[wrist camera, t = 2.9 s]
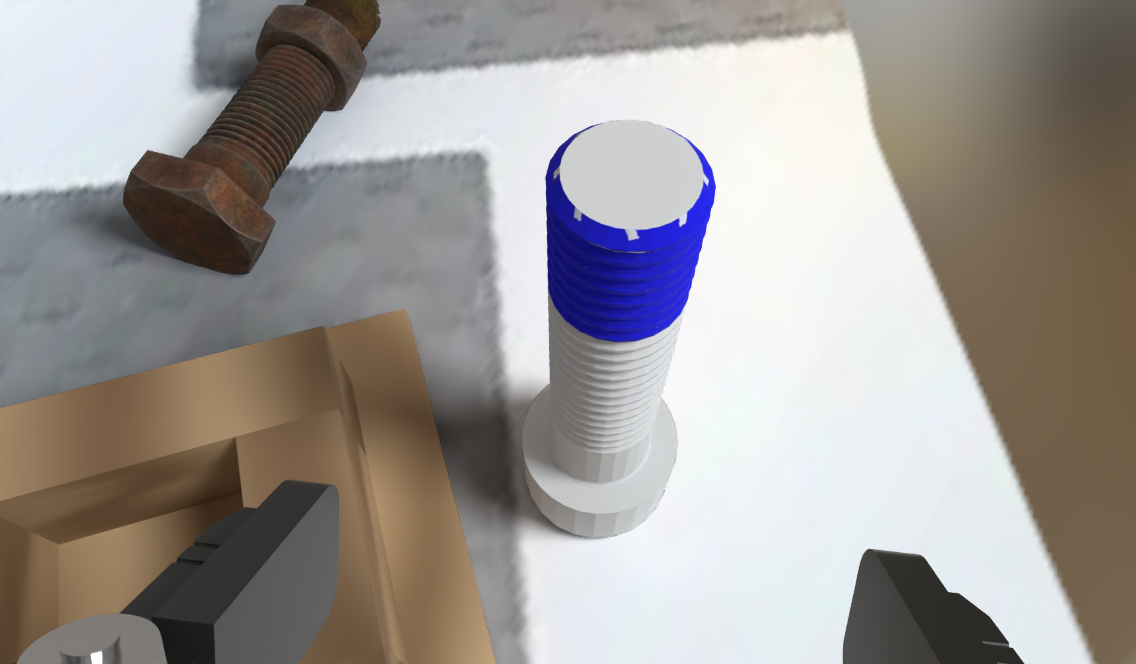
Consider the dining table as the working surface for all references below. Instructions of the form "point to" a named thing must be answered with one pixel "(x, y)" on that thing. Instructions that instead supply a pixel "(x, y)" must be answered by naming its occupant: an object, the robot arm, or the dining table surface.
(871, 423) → the dining table surface
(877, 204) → the dining table surface
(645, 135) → the bolt
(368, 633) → the wooden square frame base
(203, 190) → the bolt
